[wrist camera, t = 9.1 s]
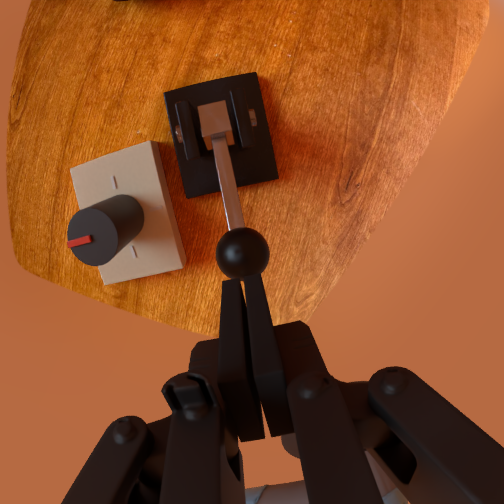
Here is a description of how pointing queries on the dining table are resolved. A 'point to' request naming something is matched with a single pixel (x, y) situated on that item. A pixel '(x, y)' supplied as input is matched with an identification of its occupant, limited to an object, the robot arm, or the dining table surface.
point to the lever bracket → (243, 125)
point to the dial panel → (151, 200)
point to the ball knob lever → (231, 200)
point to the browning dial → (104, 229)
